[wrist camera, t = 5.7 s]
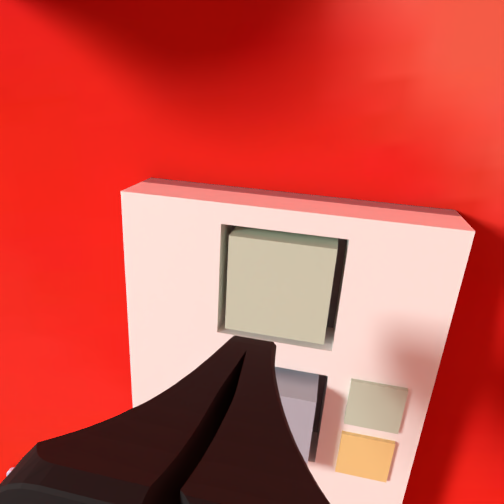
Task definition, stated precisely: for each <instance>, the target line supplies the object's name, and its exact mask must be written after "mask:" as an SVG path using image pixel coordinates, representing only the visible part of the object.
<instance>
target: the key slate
mask: <svg viewBox="0 0 504 504" xmlns="http://www.w3.org/2000/svg"><path fill="white" fill-rule="evenodd" d="M275 373H276V379H277V385H278V390H279V394H280V398H281V402H282V406H283V409H284V413H285V416H286V419H287V422H288V424H289V427H290V430H291V432H292V435H293V437H294V440H295V442H296V444H297V447H298V448H299V450H300V452H301V454H302V456H303V458H304V460H305V462H306V464H307V463H308V457H309V450H310V443H311V436H312V429H313V422H314V415H315V408H316V401H317V390H318V380H319V374H314V373H309V372H303V371H297V370H292V369H286V368H281V367H275Z"/></svg>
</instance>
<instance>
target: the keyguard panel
mask: <svg viewBox="0 0 504 504" xmlns="http://www.w3.org/2000/svg"><path fill="white" fill-rule="evenodd" d="M121 204H122V222H123V240H124V257H125V275H126V293H127V311H128V328H129V346H130V364H131V382H132V399H133V408H134V407H136V406H139V405H141V404H143V403H145V402H147V401H148V400H150V399H152V398H154V397H155V396H157V395H159V394H161V393H162V392H164V391H165V390H167V389H168V388H170V387H171V386H173V385H174V384H176V383H177V382H178V381H180V380H181V379H183V378H184V377H185V376H187V375H188V374H189V373H191V372H192V371H193V370H195V369H196V368H197V367H198V366H200V365H201V364H202V363H203V362H204V361H206V360H207V359H208V358H209V357H210V356H211V355H213V354H214V353H215V352H216V351H217V350H218V349H219V348H220V347H221V346H223V345H224V344H225V343H226V342H227V341H228V340H229V339H230V338H231V337H233V336H234V335H235V336H241V337H247V338H253V339H259V340H265V341H271V342H274V343H275V345H276V356H275V367H281V368H286V369H292V370H297V371H303V372H309V373H314V374H319V380H318V390H317V401H316V408H315V415H314V422H313V429H312V436H311V443H310V450H309V457H308V463H307V466H308V468H309V470H310V472H311V474H312V475H313V477H314V479H315V481H316V482H317V484H318V486H319V487H320V489H321V490H322V492H323V493H324V495H325V497H326V498H327V500H328V501H329V502H330V504H402V502H403V498H404V494H405V491H406V487H407V483H408V480H409V476H410V472H411V469H412V465H413V461H414V457H415V454H416V450H417V446H418V443H419V439H420V435H421V431H422V428H423V424H424V420H425V417H426V413H427V409H428V406H429V402H430V398H431V394H432V391H433V387H434V383H435V380H436V376H437V372H438V368H439V365H440V361H441V357H442V354H443V350H444V346H445V342H446V339H447V335H448V331H449V328H450V324H451V320H452V317H453V313H454V309H455V305H456V302H457V298H458V294H459V291H460V287H461V283H462V279H463V276H464V272H465V268H466V265H467V261H468V257H469V254H470V250H471V246H472V242H473V239H474V235H475V230H474V229H473V228H472V227H471V226H470V225H469V224H468V223H467V222H466V221H465V220H464V219H463V217H462V216H461V215H460V214H459V213H458V212H457V211H456V210H449V209H440V208H430V207H421V206H412V205H402V204H393V203H383V202H374V201H365V200H355V199H346V198H336V197H327V196H318V195H308V194H299V193H289V192H280V191H271V190H261V189H252V188H242V187H233V186H224V185H214V184H205V183H196V182H186V181H177V180H167V179H158V178H149V179H147V180H145V181H143V182H140V183H138V184H136V185H134V186H131V187H129V188H127V189H125V190H122V191H121ZM236 226H242V227H251V228H259V229H267V230H275V231H283V232H291V233H300V234H308V235H316V236H324V237H332V238H338V250H337V257H336V264H335V271H334V278H333V284H332V291H331V298H330V305H329V312H328V319H327V326H326V333H325V340H324V345H323V344H317V343H311V342H305V341H299V340H293V339H287V338H281V337H275V336H269V335H263V334H256V333H250V332H244V331H238V330H232V329H226V328H225V314H226V290H227V266H228V242H229V235H230V234H231V232H232V231H233V230H234V229H235V227H236Z"/></svg>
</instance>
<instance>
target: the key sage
mask: <svg viewBox="0 0 504 504" xmlns="http://www.w3.org/2000/svg"><path fill="white" fill-rule="evenodd" d="M337 250H338V238H332V237H324V236H316V235H308V234H300V233H291V232H283V231H275V230H267V229H259V228H251V227H242V226H236V227H235V229H234V230H233V231H232V232H231V234H230V235H229V242H228V266H227V290H226V314H225V328H226V329H232V330H238V331H244V332H250V333H256V334H263V335H269V336H275V337H281V338H287V339H293V340H299V341H305V342H311V343H317V344H323V345H324V340H325V333H326V326H327V319H328V312H329V305H330V298H331V291H332V284H333V278H334V271H335V264H336V257H337Z"/></svg>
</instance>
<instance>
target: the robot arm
mask: <svg viewBox="0 0 504 504" xmlns="http://www.w3.org/2000/svg"><path fill="white" fill-rule="evenodd" d="M275 356H276V345H275V343H274V342H271V341H265V340H259V339H253V338H247V337H241V336H235V335H234V336H233V337H231V338H230V339H229V340H228V341H227V342H226V343H225V344H224V345H223V346H221V347H220V348H219V349H218V350H217V351H216V352H215V353H214V354H213V355H211V356H210V357H209V358H208V359H207V360H206V361H204V362H203V363H202V364H201V365H200V366H198V367H197V368H196V369H195V370H193V371H192V372H191V373H189V374H188V375H187V376H185V377H184V378H183V379H181V380H180V381H178V382H177V383H176V384H174V385H173V386H171V387H170V388H168V389H167V390H165V391H164V392H162V393H161V394H159V395H157V396H155V397H154V398H152V399H150V400H148V401H147V402H145V403H143V404H141V405H139V406H136V407H134V408H132V409H130V410H128V411H126V412H124V413H122V414H120V415H118V416H116V417H113V418H111V419H108V420H106V421H103V422H101V423H98V424H96V425H93V426H90V427H87V428H85V429H82V430H79V431H76V432H72V433H69V434H66V435H62V436H59V437H56V438H52V439H49V440H45V441H42V442H38V443H37V444H36V445H35V446H34V447H33V448H32V449H31V450H30V451H29V452H28V453H27V454H26V455H25V456H24V457H23V458H22V460H21V461H20V462H19V463H18V464H17V465H16V466H15V467H12V468H10V469H9V470H8V472H7V477H6V478H5V479H4V480H3V481H2V483H1V484H0V504H330V502H329V501H328V500H327V498H326V497H325V495H324V493H323V492H322V490H321V489H320V487H319V486H318V484H317V482H316V481H315V479H314V477H313V475H312V474H311V472H310V470H309V468H308V466H307V464H306V462H305V460H304V458H303V456H302V454H301V452H300V450H299V448H298V447H297V444H296V442H295V440H294V437H293V435H292V432H291V430H290V427H289V424H288V422H287V419H286V416H285V413H284V409H283V406H282V402H281V398H280V394H279V390H278V385H277V379H276V373H275Z"/></svg>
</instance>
